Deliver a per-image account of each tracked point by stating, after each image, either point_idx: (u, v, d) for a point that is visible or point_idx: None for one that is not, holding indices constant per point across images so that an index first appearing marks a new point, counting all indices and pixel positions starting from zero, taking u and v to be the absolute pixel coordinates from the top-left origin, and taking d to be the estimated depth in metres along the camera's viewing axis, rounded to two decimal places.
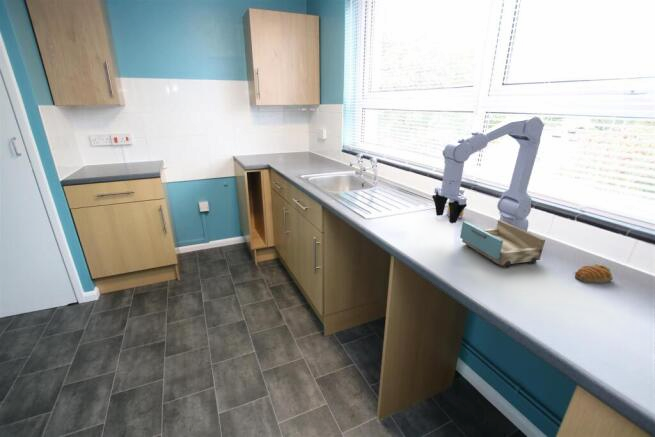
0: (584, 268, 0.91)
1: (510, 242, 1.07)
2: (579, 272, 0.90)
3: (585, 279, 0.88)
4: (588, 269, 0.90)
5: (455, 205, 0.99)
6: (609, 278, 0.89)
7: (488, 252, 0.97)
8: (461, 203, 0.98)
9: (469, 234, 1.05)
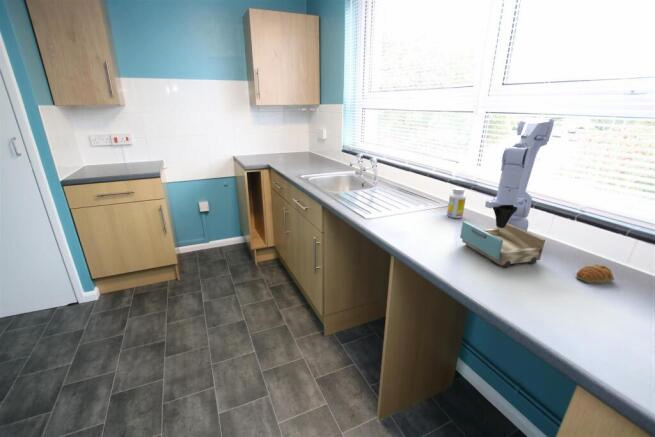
0: (585, 268, 0.91)
1: (510, 242, 1.07)
2: (581, 272, 0.90)
3: (587, 280, 0.88)
4: (589, 269, 0.90)
5: None
6: (610, 278, 0.89)
7: (488, 252, 0.97)
8: (485, 205, 0.98)
9: (469, 234, 1.05)
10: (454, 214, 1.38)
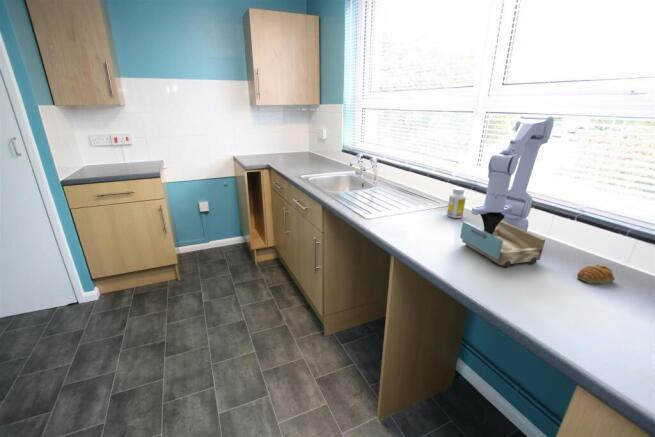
0: (586, 269, 0.91)
1: (510, 242, 1.07)
2: (582, 273, 0.90)
3: (588, 280, 0.88)
4: (590, 270, 0.90)
5: None
6: (611, 278, 0.88)
7: (488, 252, 0.97)
8: (472, 212, 0.98)
9: (469, 234, 1.05)
10: (454, 214, 1.38)
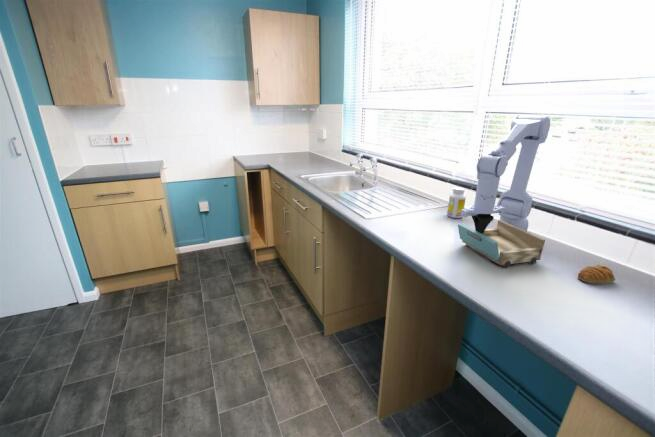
0: (586, 269, 0.91)
1: (510, 242, 1.07)
2: (582, 273, 0.90)
3: (588, 280, 0.88)
4: (591, 270, 0.90)
5: None
6: (612, 279, 0.88)
7: (487, 253, 0.98)
8: (461, 214, 0.97)
9: (467, 235, 1.05)
10: (454, 214, 1.38)
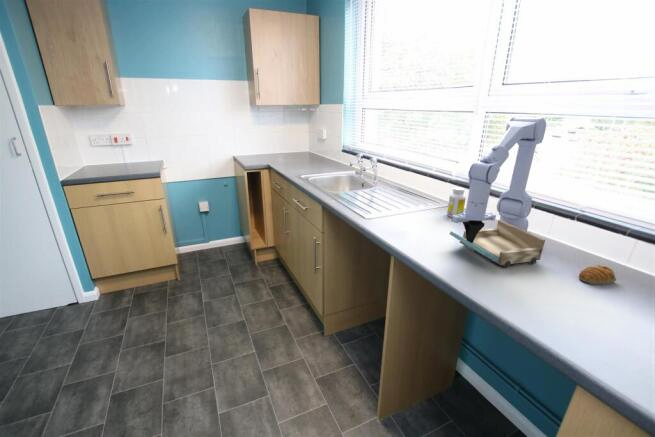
0: (587, 269, 0.91)
1: (510, 242, 1.07)
2: (583, 273, 0.90)
3: (590, 281, 0.88)
4: (592, 270, 0.90)
5: None
6: (613, 279, 0.88)
7: None
8: (452, 220, 0.97)
9: None
10: (454, 214, 1.38)
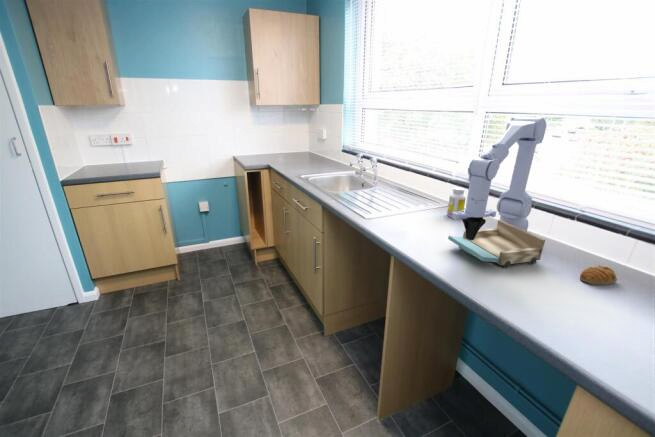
0: (589, 270, 0.91)
1: (510, 242, 1.07)
2: (585, 274, 0.89)
3: (591, 281, 0.87)
4: (593, 271, 0.89)
5: None
6: (614, 279, 0.88)
7: None
8: (452, 217, 0.97)
9: None
10: None
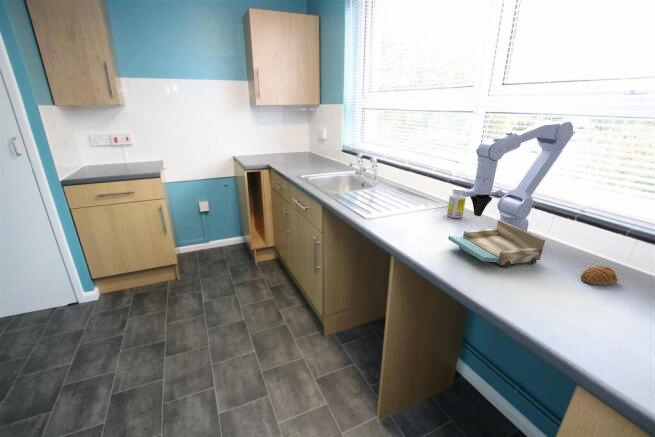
0: (589, 270, 0.90)
1: (510, 242, 1.07)
2: (586, 274, 0.89)
3: (592, 282, 0.87)
4: (594, 271, 0.89)
5: (471, 195, 1.09)
6: (615, 280, 0.88)
7: None
8: (462, 194, 1.07)
9: None
10: (454, 214, 1.38)
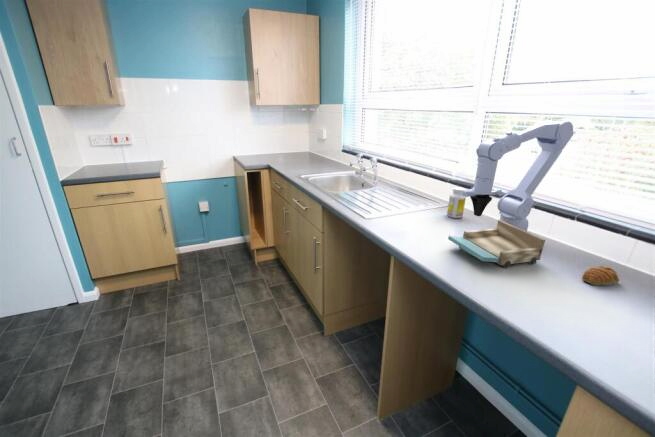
0: (591, 270, 0.90)
1: (510, 242, 1.07)
2: (587, 275, 0.89)
3: (594, 282, 0.87)
4: (595, 271, 0.89)
5: (471, 195, 1.09)
6: (616, 280, 0.88)
7: None
8: (462, 194, 1.07)
9: None
10: (454, 214, 1.38)
